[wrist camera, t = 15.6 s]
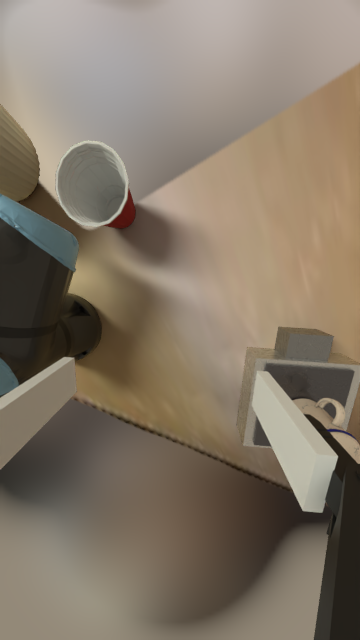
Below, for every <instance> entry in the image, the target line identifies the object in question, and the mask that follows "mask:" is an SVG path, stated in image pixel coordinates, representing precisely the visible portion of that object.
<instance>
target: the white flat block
mask: <svg viewBox="0 0 360 640" xmlns="http://www.w3.org/2000/svg"><path fill="white" fill-rule="evenodd" d="M333 337H334V336H332V335H329V334H327V333H325V332H322V331H320V330H317V329H304V328H288V327H278V332H277V338H276V344H275V349H268V348H253V347H247V351H246V359H245V366H244V373H243V381H242V388H241V395H240V403H239V410H238V417H237V428H238V431H239V435H240V438H241V441H242V444H243V446H251V447H262V448H272V446H271V444H270V442H269V440H268V438H267V436H266V434H265V432H264V430H263V428H262V425H261V423H260V421H259V419H258V417H257V415H256V413H255V411H254V409H253V407H252V400H253V393H254V387H255V380H256V374H257V371H267V372H269V373H270V375H271V376H272V377H273V378H274V379H275V381H276V382H277V383H278V384H279V386H280V387H281V388H282V389H283V390H284V392H285V393H286V394H287V395H288V396H289V398H290V399H291V400H295V399H301V398H304V399H310V400H313V401H315V402H316V403H317V402H318V401H319V400H320V399H322V398H331V399H334V400H336V401H338V402H339V403H340V404H341V405H342V406H343V407H344V410H345V419H344V422H343V423H342V425H341V427H342V428H343V429H344V430H345V431H346V430H347V426H348V423H349V419H350V416H351V412H352V408H353V405H354V401H355V398H356V394H357V391H358V387H359V383H360V363H358V362H356V361H354V360H352V359H350V358H349V357H347V356H345V355H343V354H341V353H330V350H331V346H332V341H333ZM323 409H324V410H325V411H326V412H327V413H328V414H329V415H330V416H331V417H332V418H333V419H334V418H335V416H336V408H335V406H334V405H333V404H332V403H328V404H326V405H325V406H324V408H323Z"/></svg>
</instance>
